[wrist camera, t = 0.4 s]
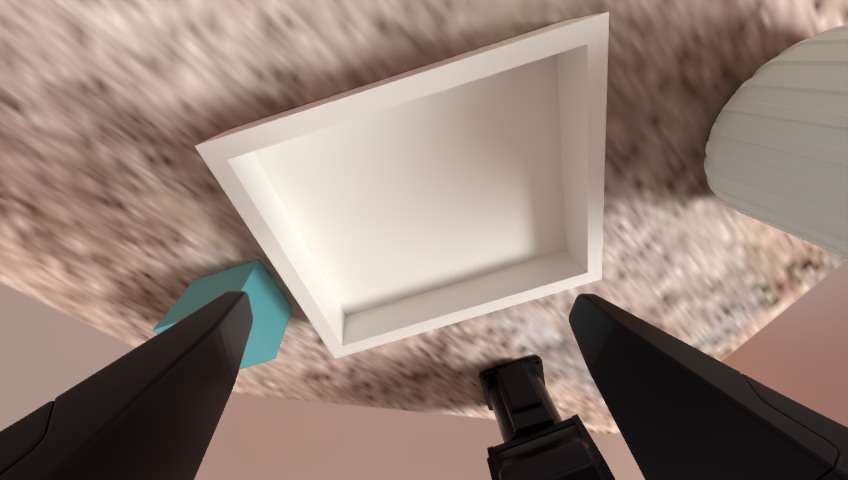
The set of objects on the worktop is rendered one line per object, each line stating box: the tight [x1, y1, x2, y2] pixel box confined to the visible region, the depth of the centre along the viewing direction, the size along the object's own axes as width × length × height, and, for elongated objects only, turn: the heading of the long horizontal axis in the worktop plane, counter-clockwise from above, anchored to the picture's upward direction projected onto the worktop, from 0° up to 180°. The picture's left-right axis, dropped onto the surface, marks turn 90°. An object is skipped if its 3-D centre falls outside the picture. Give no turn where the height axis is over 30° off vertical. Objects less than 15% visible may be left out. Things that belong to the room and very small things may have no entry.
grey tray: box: [195, 12, 609, 358], centre depth 20 cm, size 16×20×4 cm
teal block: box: [153, 260, 292, 369], centre depth 22 cm, size 5×5×5 cm
